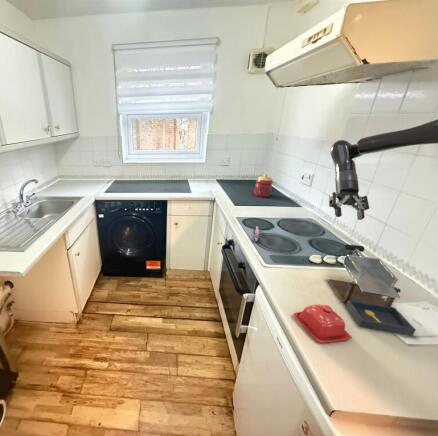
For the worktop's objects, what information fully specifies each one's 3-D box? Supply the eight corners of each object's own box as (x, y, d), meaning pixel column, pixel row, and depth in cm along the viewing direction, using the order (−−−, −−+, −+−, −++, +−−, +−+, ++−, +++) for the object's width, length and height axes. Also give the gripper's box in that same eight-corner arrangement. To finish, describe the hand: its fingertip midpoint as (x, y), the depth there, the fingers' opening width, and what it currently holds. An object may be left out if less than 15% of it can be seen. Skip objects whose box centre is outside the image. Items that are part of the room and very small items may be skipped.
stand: (327, 281, 94) (334, 262, 91) (369, 287, 91) (378, 268, 87) (342, 303, 83) (350, 283, 80) (391, 311, 80) (401, 290, 76)
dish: (334, 252, 95) (339, 242, 93) (364, 255, 93) (369, 245, 90) (361, 292, 77) (368, 281, 74) (399, 298, 74) (407, 287, 72)
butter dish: (321, 312, 79) (328, 292, 76) (353, 342, 68) (363, 320, 65) (289, 316, 78) (296, 295, 74) (317, 346, 67) (326, 324, 64)
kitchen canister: (262, 198, 192) (266, 176, 185) (250, 194, 203) (253, 173, 196) (273, 196, 197) (278, 175, 190) (261, 192, 208) (264, 172, 201)
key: (361, 310, 79) (362, 309, 79) (370, 311, 79) (370, 310, 79) (376, 325, 73) (377, 324, 73) (386, 325, 73) (386, 324, 73)
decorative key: (256, 233, 140) (256, 243, 122) (254, 233, 140) (254, 242, 122) (259, 222, 138) (259, 230, 120) (256, 222, 139) (256, 230, 121)
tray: (392, 313, 79) (395, 307, 78) (412, 336, 70) (415, 329, 69) (345, 305, 82) (347, 300, 81) (359, 326, 74) (362, 320, 73)
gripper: (335, 176, 100) (338, 212, 95) (371, 180, 99) (376, 217, 94) (323, 184, 107) (325, 218, 103) (357, 188, 106) (360, 222, 101)
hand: (349, 218), depth 98 cm, fingers open, 8 cm apart
